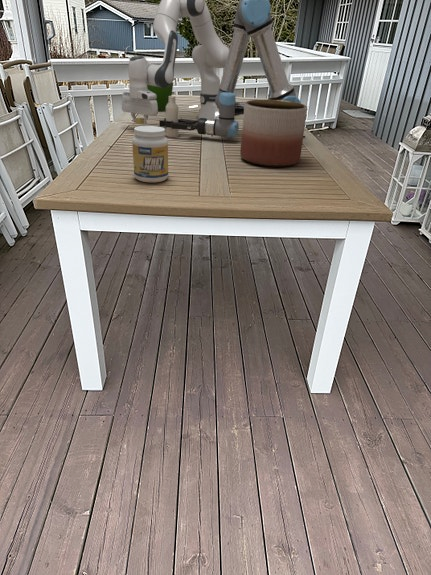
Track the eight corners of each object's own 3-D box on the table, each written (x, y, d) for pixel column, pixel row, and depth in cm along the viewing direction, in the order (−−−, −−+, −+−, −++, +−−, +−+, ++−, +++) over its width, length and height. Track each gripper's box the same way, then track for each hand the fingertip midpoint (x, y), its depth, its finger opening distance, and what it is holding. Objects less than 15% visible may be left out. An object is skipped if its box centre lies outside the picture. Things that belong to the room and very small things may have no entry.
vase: (143, 107, 275) (142, 66, 262) (173, 108, 277) (172, 67, 264) (142, 112, 259) (140, 68, 246) (173, 113, 261) (173, 70, 248)
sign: (232, 108, 270) (231, 101, 295) (232, 112, 272) (230, 105, 297) (261, 109, 270) (257, 102, 296) (260, 114, 272) (257, 107, 297)
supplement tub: (139, 184, 140) (136, 133, 131) (130, 174, 149) (127, 125, 140) (173, 181, 144) (172, 131, 135) (162, 172, 153) (161, 124, 144)
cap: (135, 123, 207) (134, 119, 206) (136, 121, 211) (136, 117, 210) (143, 123, 207) (143, 119, 206) (145, 122, 211) (144, 118, 210)
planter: (308, 168, 166) (317, 110, 154) (247, 168, 162) (252, 108, 150) (288, 152, 187) (295, 100, 175) (234, 152, 183) (238, 98, 171)
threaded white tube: (163, 136, 205) (163, 96, 195) (170, 133, 210) (170, 95, 200) (174, 137, 203) (173, 97, 193) (180, 135, 208) (180, 96, 198)
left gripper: (117, 92, 203) (119, 121, 211) (151, 96, 196) (152, 126, 203) (125, 91, 208) (127, 119, 215) (159, 95, 201) (159, 125, 208)
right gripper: (200, 138, 194) (155, 133, 198) (211, 130, 210) (169, 126, 214) (201, 121, 190) (154, 117, 194) (212, 115, 206) (168, 111, 210)
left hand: (140, 123), depth 209 cm, fingers closed on cap, 4 cm apart
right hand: (162, 122), depth 204 cm, fingers closed on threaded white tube, 6 cm apart
